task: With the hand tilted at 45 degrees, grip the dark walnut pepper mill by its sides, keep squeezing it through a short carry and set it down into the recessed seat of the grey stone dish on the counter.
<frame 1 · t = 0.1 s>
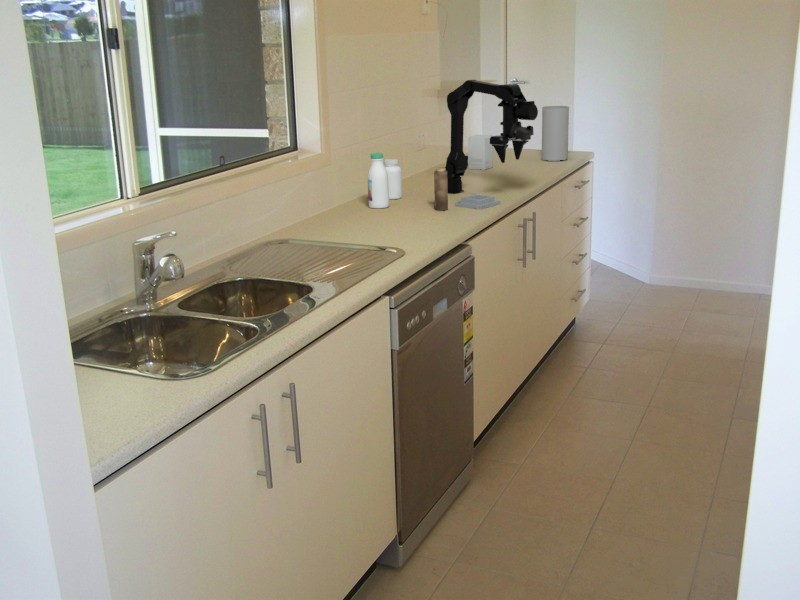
hand: (510, 161, 327), 15 cm above the countertop, tool pointing down, fingers open, 9 cm apart
seat dish: (477, 204, 324), on the countertop
cylinder vase: (554, 160, 422), on the countertop
milk bottle: (379, 207, 327), on the countertop
pill bottle: (392, 198, 343), on the countertop
pepper mill: (441, 209, 318), on the countertop
supplement box: (480, 168, 406), on the countertop
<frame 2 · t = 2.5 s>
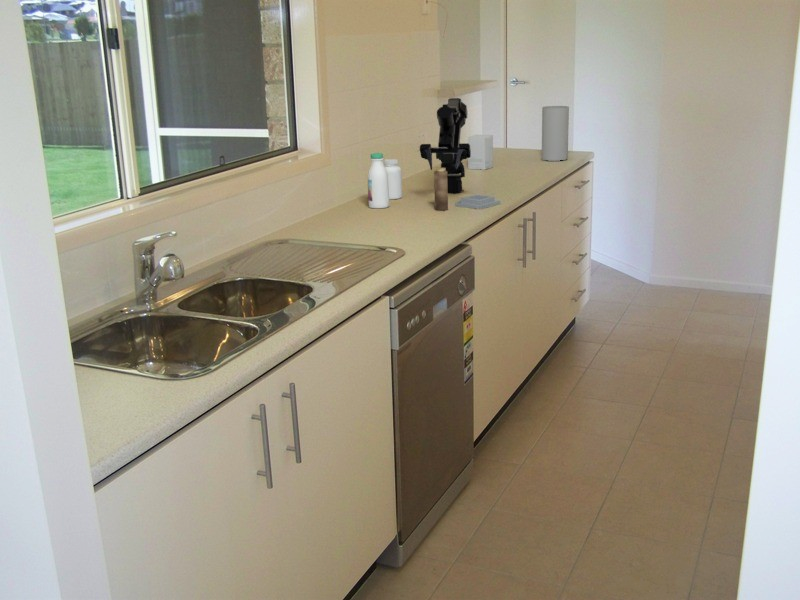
hand: (443, 169, 322), 14 cm above the countertop, tool tilted 45°, fingers open, 9 cm apart
nothing on the countertop moved.
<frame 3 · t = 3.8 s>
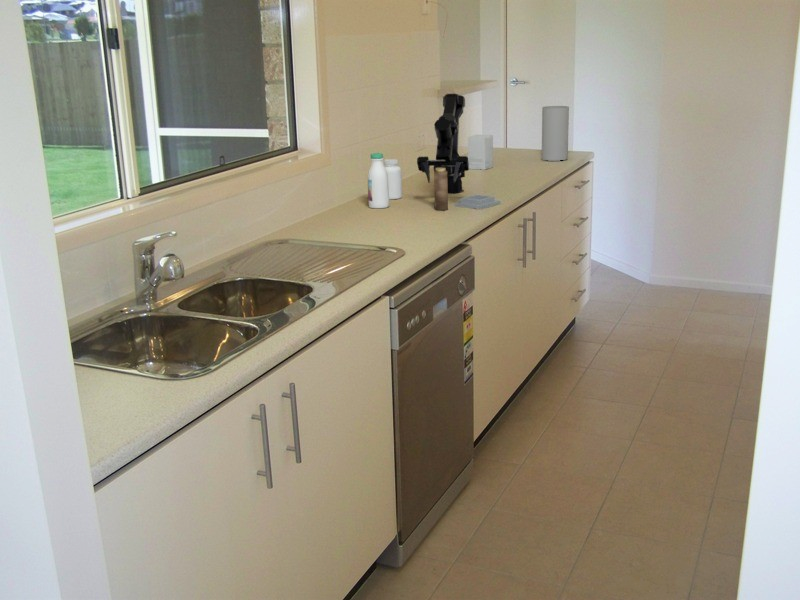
hand: (441, 182, 316), 10 cm above the countertop, tool tilted 45°, fingers open, 9 cm apart
nothing on the countertop moved.
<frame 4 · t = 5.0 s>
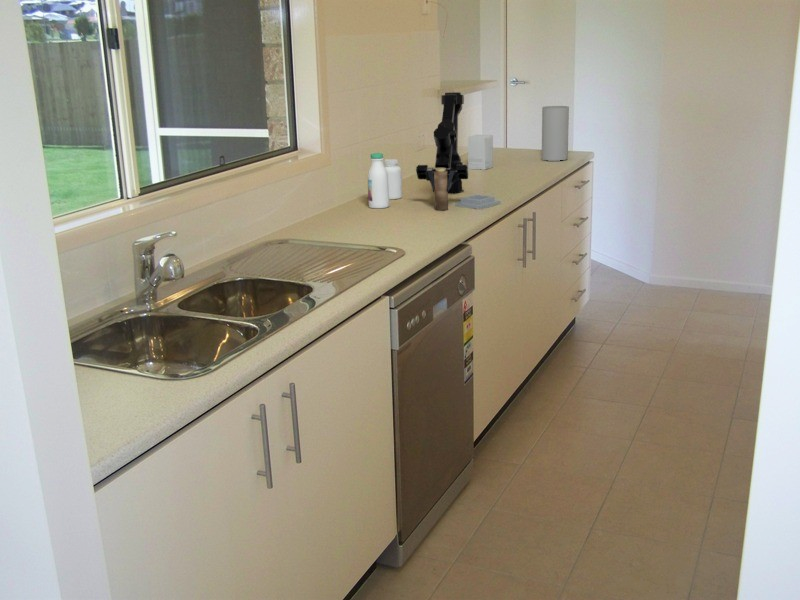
hand: (440, 191, 315), 7 cm above the countertop, tool tilted 45°, fingers closed on pepper mill, 5 cm apart
pepper mill: (441, 209, 318), on the countertop, touching gripper
everything else where it was.
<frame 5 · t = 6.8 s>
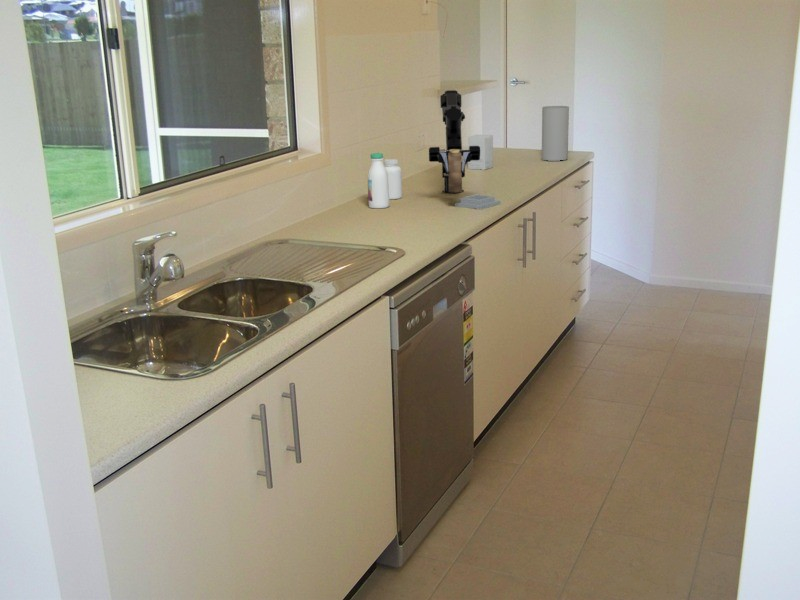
hand: (455, 172, 315), 13 cm above the countertop, tool tilted 45°, fingers closed on pepper mill, 5 cm apart
pepper mill: (455, 191, 318), point 6 cm above the countertop, touching gripper
everything else where it was.
when the fingers open (10 cm above the countertop, at t = 8.7 s): pepper mill drops 1 cm, resting on seat dish.
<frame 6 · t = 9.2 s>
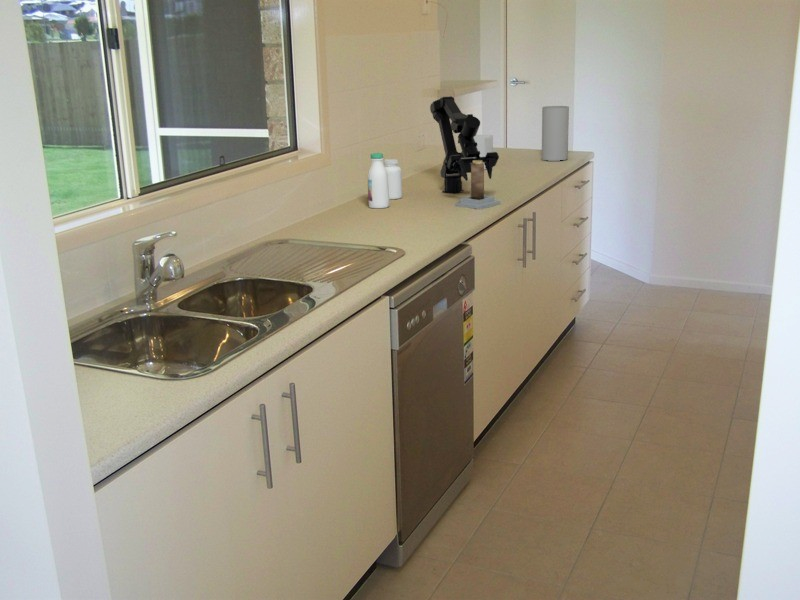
hand: (478, 179, 320), 10 cm above the countertop, tool tilted 45°, fingers open, 9 cm apart
pepper mill: (477, 201, 324), point 1 cm above the countertop, touching seat dish
everything else where it was.
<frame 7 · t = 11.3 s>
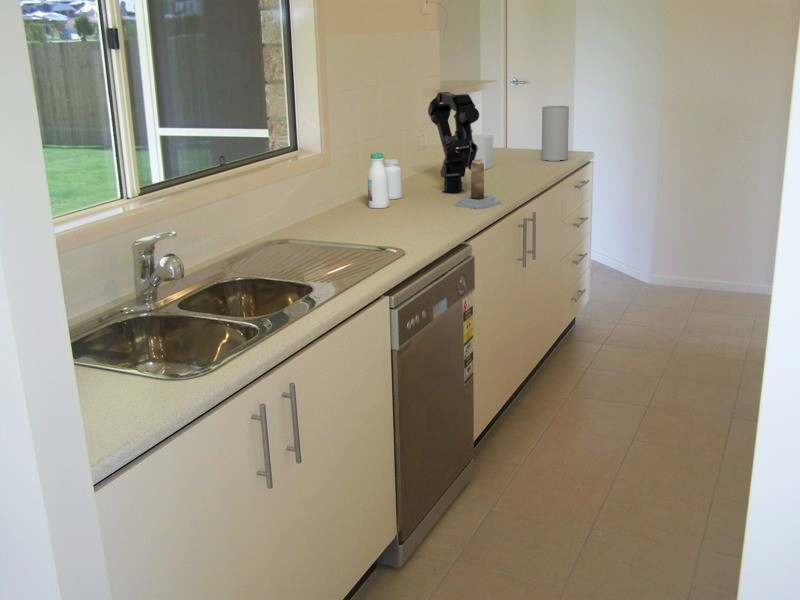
hand: (468, 168, 331), 12 cm above the countertop, tool tilted 15°, fingers open, 9 cm apart
nothing on the countertop moved.
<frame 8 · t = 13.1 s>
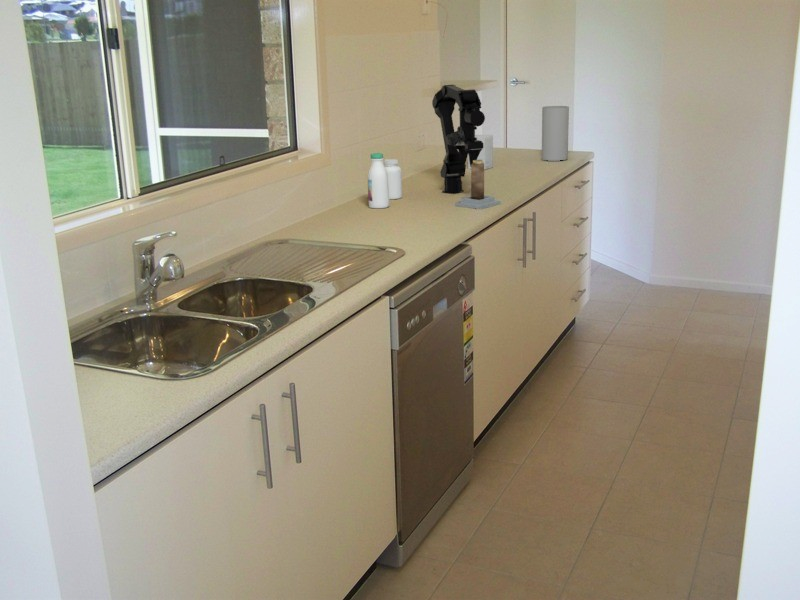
hand: (467, 165, 332), 13 cm above the countertop, tool pointing down, fingers open, 9 cm apart
nothing on the countertop moved.
at the end: pepper mill 0.1 cm off-centre on the seat dish, point 1.3 cm above the seat dish's base; pepper mill tilted 1°; the gripper is holding nothing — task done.
